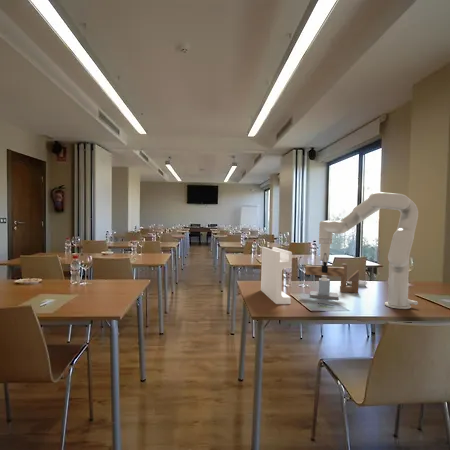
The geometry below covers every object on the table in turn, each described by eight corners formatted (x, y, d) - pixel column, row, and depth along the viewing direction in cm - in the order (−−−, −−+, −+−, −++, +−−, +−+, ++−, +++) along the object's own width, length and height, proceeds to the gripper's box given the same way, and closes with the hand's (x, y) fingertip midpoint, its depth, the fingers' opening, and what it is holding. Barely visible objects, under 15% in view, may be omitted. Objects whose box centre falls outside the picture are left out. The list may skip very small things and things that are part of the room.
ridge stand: (337, 295, 209) (337, 275, 208) (338, 299, 197) (339, 278, 197) (310, 293, 213) (310, 274, 212) (309, 297, 201) (310, 277, 201)
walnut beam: (343, 275, 204) (343, 267, 204) (344, 276, 200) (344, 268, 200) (305, 273, 209) (305, 265, 209) (305, 274, 205) (305, 266, 205)
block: (260, 290, 218) (262, 246, 218) (273, 290, 219) (274, 246, 219) (276, 304, 183) (277, 252, 183) (290, 303, 185) (292, 252, 184)
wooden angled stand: (358, 293, 216) (359, 264, 216) (340, 292, 218) (341, 264, 218) (357, 292, 220) (357, 264, 220) (339, 291, 222) (340, 263, 221)
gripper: (318, 240, 213) (317, 269, 214) (319, 242, 197) (318, 273, 197) (331, 241, 211) (330, 270, 212) (332, 242, 195) (331, 274, 195)
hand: (324, 271), depth 204 cm, fingers closed on walnut beam, 4 cm apart
